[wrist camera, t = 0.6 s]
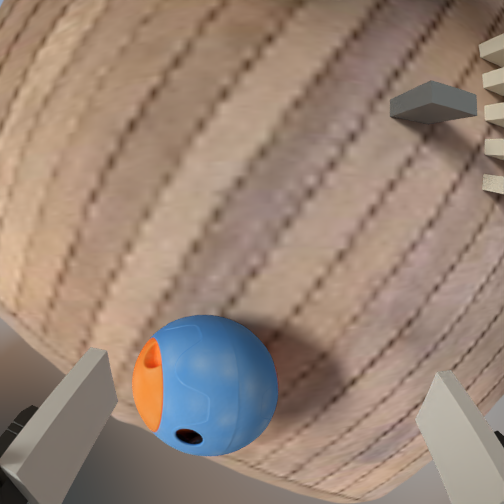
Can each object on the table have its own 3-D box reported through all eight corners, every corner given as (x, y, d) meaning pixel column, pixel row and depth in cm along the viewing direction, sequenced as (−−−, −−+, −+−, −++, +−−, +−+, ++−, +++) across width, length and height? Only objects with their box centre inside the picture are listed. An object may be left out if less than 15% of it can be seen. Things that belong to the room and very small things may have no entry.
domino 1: (390, 99, 29) (431, 80, 20) (428, 107, 29) (476, 94, 20) (390, 116, 30) (431, 102, 20) (428, 124, 30) (477, 115, 20)
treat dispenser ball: (253, 405, 41) (246, 494, 26) (149, 371, 41) (107, 449, 26) (296, 316, 37) (309, 405, 22) (172, 274, 36) (116, 342, 22)
